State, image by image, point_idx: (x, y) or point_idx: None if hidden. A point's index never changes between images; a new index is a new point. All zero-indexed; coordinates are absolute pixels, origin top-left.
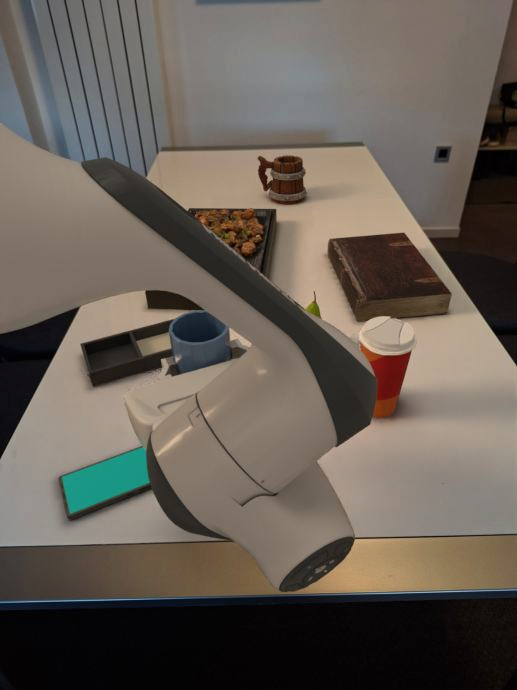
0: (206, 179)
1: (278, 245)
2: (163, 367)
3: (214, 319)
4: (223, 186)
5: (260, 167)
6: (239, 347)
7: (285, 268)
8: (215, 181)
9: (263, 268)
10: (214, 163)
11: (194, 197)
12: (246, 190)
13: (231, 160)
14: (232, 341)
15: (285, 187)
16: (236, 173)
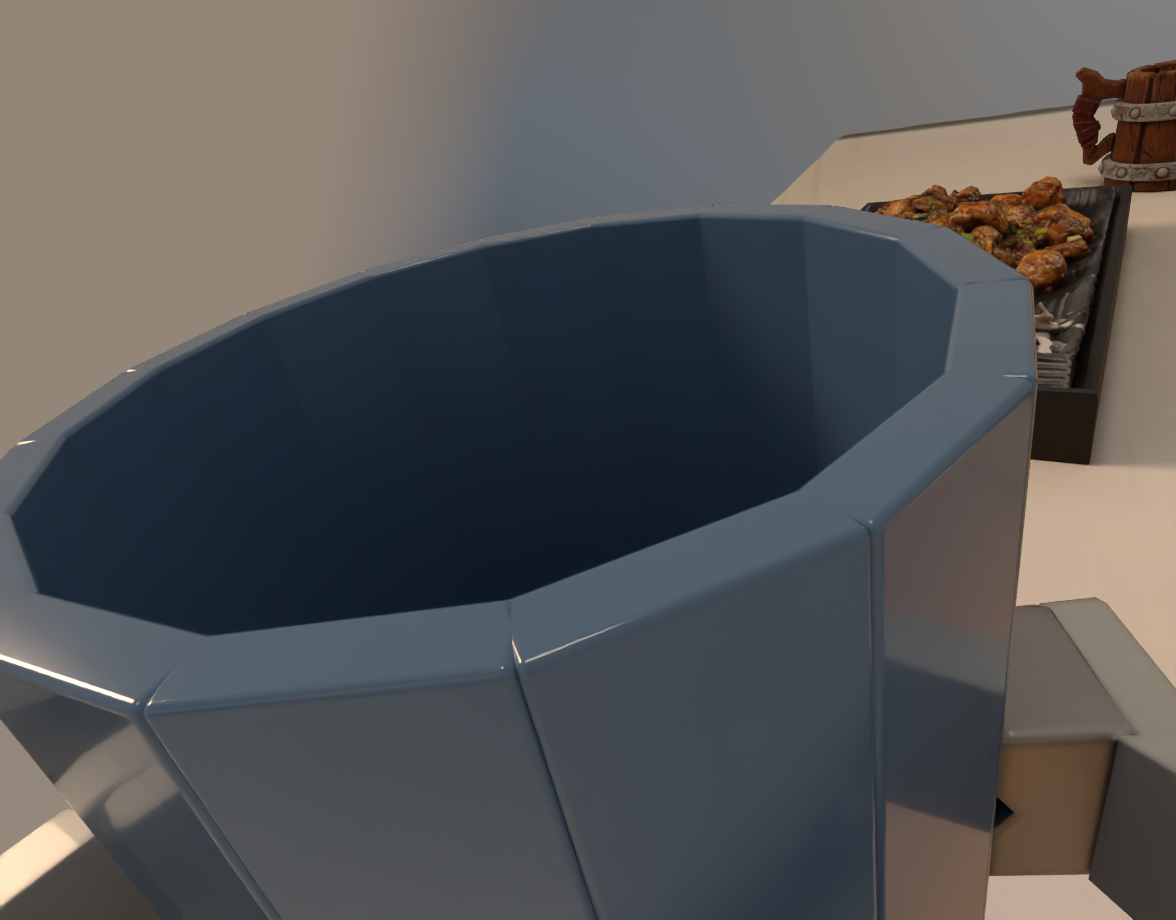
0: (923, 168)
1: (1138, 278)
2: (56, 817)
3: (797, 309)
4: (965, 175)
5: (1082, 98)
6: (1158, 765)
7: (1173, 336)
8: (945, 169)
9: (1097, 320)
10: (946, 143)
11: (887, 198)
12: (1028, 176)
13: (990, 134)
14: (1022, 627)
15: (1159, 142)
16: (1001, 152)
